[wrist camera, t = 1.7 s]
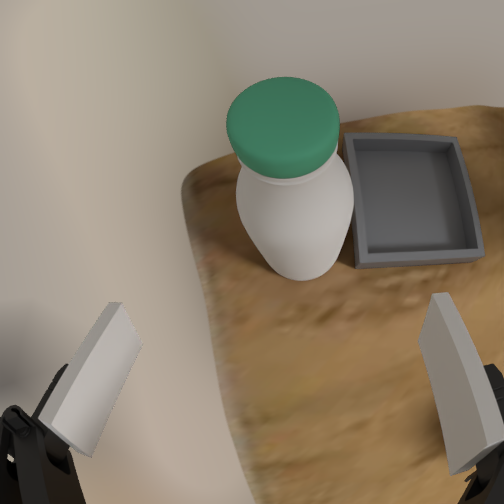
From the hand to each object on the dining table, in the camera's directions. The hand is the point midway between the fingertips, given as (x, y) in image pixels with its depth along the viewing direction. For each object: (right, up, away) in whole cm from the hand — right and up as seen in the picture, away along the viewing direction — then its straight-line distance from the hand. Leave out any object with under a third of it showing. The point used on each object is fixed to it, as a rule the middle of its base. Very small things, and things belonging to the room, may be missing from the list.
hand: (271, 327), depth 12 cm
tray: (+16, +8, +17) cm, 24 cm away
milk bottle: (+4, +4, +18) cm, 19 cm away
